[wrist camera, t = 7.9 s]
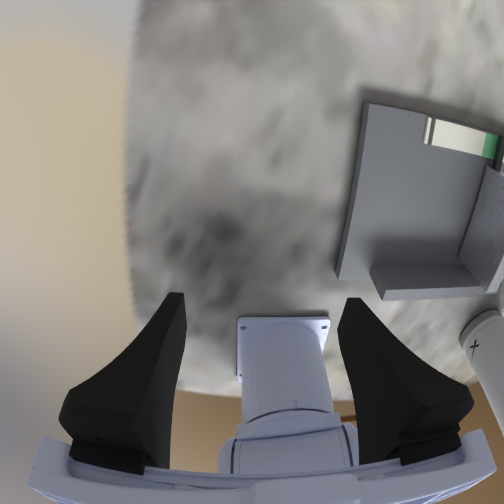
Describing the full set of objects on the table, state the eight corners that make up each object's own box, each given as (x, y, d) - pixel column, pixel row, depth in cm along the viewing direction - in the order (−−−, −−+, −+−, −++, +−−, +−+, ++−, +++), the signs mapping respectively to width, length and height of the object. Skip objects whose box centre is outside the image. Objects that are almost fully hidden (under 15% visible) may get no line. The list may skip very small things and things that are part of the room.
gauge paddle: (467, 257, 23) (496, 292, 19) (457, 256, 23) (486, 292, 19) (504, 136, 17) (546, 158, 13) (494, 132, 17) (536, 154, 13)
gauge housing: (490, 271, 25) (510, 296, 22) (335, 272, 25) (347, 307, 21) (532, 146, 18) (562, 163, 15) (363, 101, 18) (389, 112, 14)
